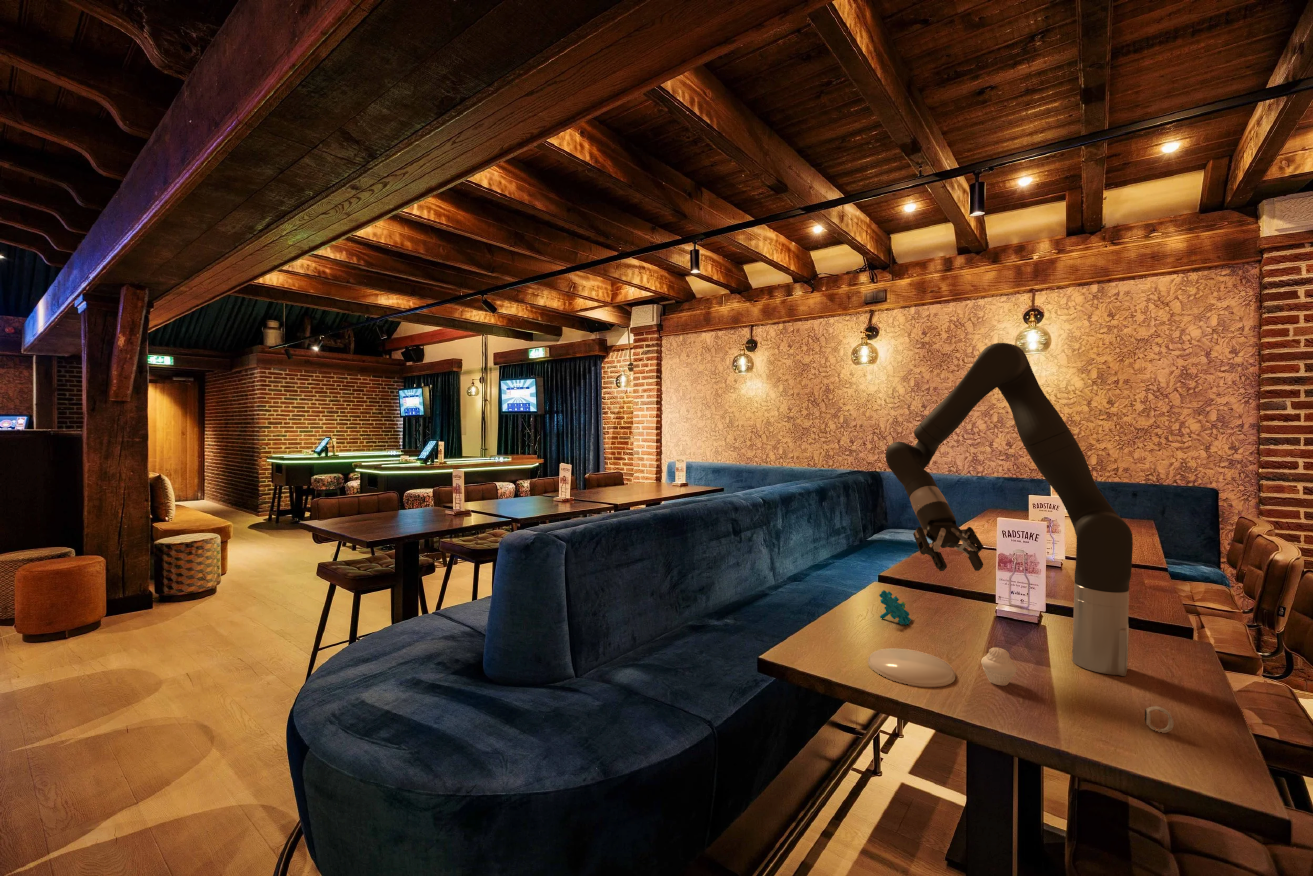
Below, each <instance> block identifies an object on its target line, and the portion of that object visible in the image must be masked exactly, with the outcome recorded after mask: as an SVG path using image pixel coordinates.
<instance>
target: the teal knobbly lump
mask: <svg viewBox="0 0 1313 876" xmlns="http://www.w3.org/2000/svg"><path fill="white" fill-rule="evenodd" d="M880 592H881V593H879V594H878V596H879V597H880V598H881V599H880V601H879V602H880V603H881V604H883V605H884V610H885V612H883V613H882V614H880V615H879V617H880V619H881V618H884V619H885V618H886V617H887V616H889V615H890V616H891V618H892V619H893V620H896V619H897V618H898V620H897V622H898V624H900V625H905V626H908V625H910V622H911V621H912V618H911V617H909V616H910V612H909V611H908V610H906V609H905V608H906V603H905V602H904V601H902V602H898V601H900V599H899V597H898V596H896V595H895V596H893V593H892V592H891V591H886V590H885V589H883V590H882V591H880ZM892 596H893V597H892ZM907 624H908V625H907Z"/></svg>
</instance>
